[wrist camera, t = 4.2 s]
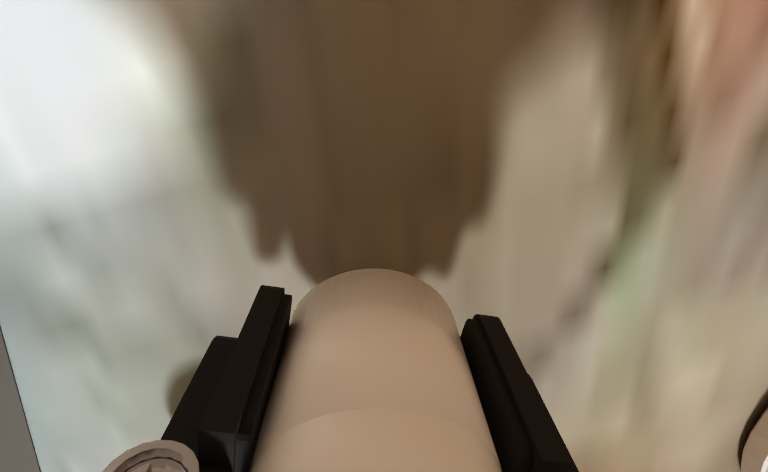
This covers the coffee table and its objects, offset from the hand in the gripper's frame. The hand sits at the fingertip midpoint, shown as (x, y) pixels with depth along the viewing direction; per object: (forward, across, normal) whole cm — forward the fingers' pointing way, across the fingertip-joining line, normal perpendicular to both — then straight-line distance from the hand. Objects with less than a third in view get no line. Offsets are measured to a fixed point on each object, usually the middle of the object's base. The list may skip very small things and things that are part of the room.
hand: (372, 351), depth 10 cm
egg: (0, 0, 0) cm, 0 cm away
